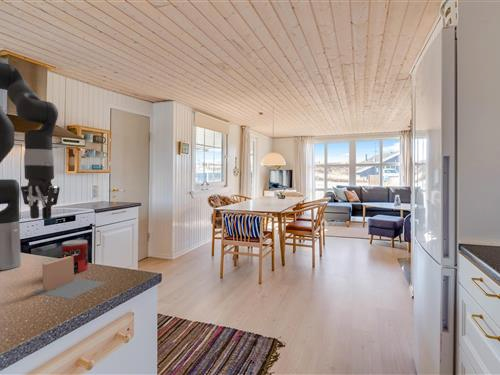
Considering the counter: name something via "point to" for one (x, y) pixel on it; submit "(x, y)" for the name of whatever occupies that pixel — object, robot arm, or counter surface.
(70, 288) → the mat
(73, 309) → the counter surface
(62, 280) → the block
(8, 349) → the counter surface
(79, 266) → the canned food
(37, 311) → the counter surface
